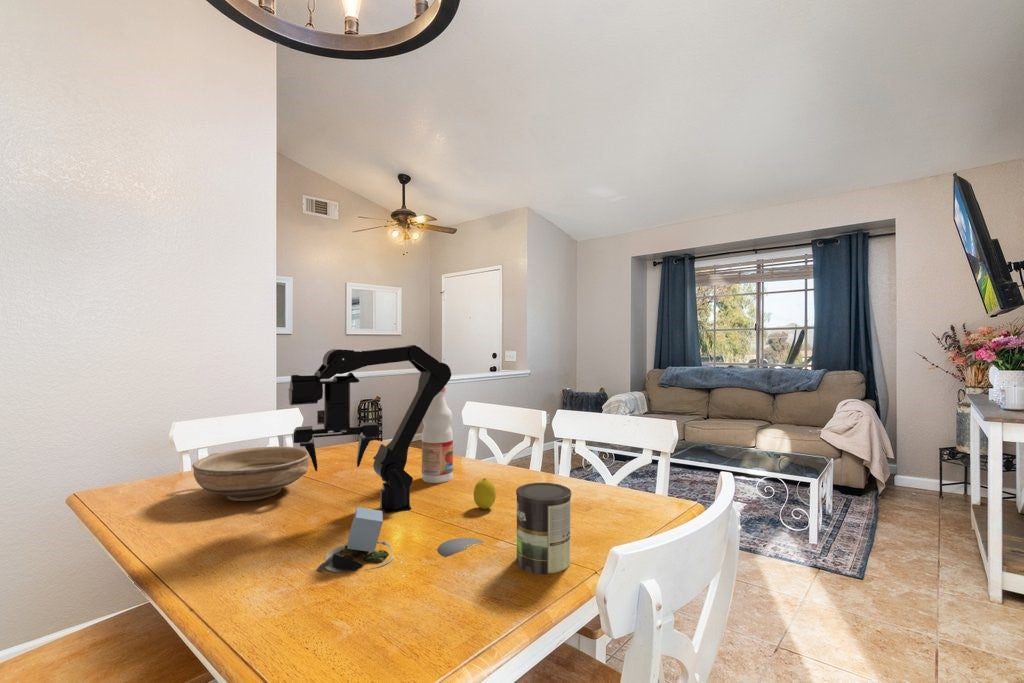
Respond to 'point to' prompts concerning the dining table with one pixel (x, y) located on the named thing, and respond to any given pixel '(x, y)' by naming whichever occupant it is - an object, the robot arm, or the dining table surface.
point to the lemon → (484, 494)
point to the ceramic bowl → (251, 471)
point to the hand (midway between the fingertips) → (337, 468)
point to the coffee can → (543, 527)
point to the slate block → (365, 529)
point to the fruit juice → (437, 442)
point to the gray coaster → (456, 546)
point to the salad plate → (352, 559)
